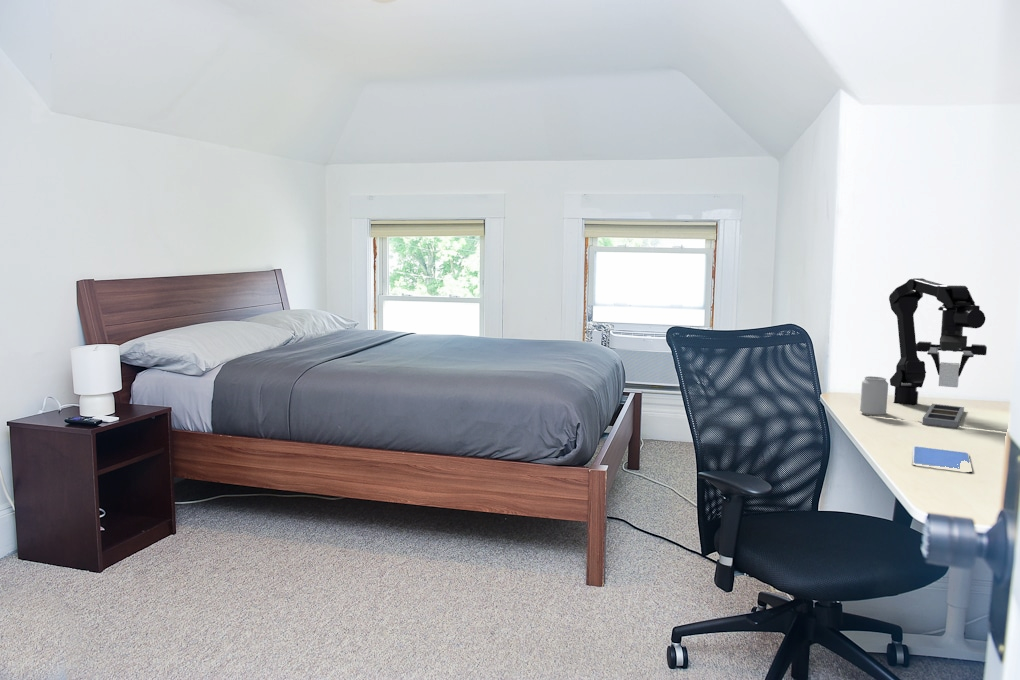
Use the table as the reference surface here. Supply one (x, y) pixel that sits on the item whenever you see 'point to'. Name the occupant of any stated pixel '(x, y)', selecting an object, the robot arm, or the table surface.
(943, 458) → the tablet computer
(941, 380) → the metal block
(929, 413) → the gray compartment tray
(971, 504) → the table surface
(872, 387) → the can
